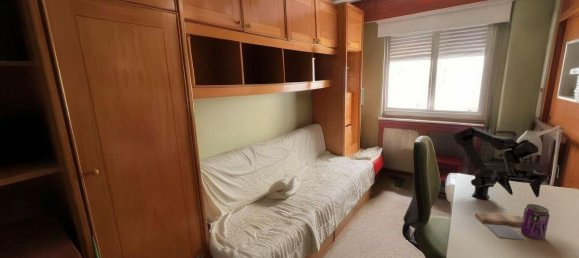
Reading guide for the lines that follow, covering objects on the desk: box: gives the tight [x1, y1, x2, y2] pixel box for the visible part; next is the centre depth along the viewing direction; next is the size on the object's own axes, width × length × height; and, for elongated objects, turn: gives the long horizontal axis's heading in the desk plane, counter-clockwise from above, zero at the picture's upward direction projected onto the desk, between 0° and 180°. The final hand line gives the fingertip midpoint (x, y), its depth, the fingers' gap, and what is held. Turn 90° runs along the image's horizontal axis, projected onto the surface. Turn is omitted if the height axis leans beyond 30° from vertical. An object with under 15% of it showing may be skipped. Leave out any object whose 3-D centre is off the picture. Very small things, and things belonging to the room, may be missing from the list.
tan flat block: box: [474, 212, 523, 227], centre depth 110 cm, size 20×6×2 cm, turn 79°
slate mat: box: [485, 223, 526, 241], centre depth 102 cm, size 9×9×1 cm
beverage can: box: [520, 203, 550, 239], centre depth 99 cm, size 7×7×12 cm
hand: (524, 195), depth 105 cm, fingers open, 9 cm apart
